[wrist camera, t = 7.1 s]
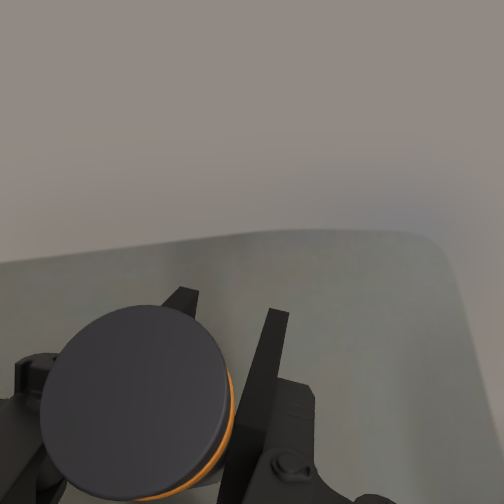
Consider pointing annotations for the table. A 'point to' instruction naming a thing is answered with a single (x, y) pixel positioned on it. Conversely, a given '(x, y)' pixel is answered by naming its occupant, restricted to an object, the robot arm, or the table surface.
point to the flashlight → (139, 406)
